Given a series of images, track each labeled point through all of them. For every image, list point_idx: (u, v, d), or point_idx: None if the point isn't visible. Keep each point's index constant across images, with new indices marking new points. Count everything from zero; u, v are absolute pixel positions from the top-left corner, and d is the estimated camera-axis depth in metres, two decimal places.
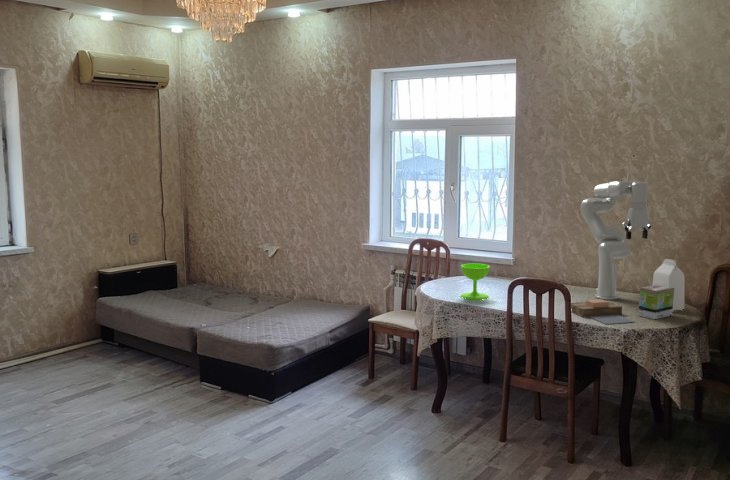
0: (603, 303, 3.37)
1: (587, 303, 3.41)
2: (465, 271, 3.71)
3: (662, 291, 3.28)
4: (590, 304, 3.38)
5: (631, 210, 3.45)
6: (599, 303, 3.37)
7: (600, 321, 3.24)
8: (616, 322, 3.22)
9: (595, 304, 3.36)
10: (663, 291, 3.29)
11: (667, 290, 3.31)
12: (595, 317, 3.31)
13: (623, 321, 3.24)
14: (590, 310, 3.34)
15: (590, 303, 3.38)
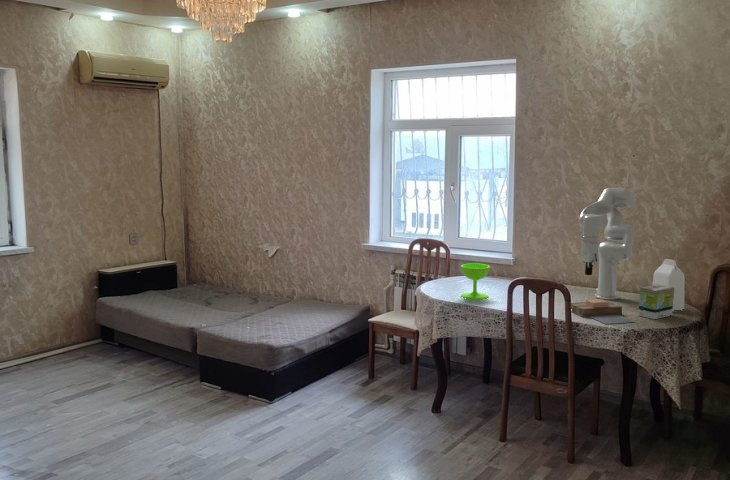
0: (603, 303, 3.37)
1: (587, 303, 3.41)
2: (465, 271, 3.71)
3: (662, 291, 3.28)
4: (590, 304, 3.38)
5: (596, 245, 3.40)
6: (599, 303, 3.37)
7: (600, 321, 3.24)
8: (616, 322, 3.22)
9: (595, 304, 3.36)
10: (663, 291, 3.29)
11: (667, 290, 3.31)
12: (595, 317, 3.31)
13: (623, 321, 3.24)
14: (590, 310, 3.34)
15: (590, 303, 3.38)
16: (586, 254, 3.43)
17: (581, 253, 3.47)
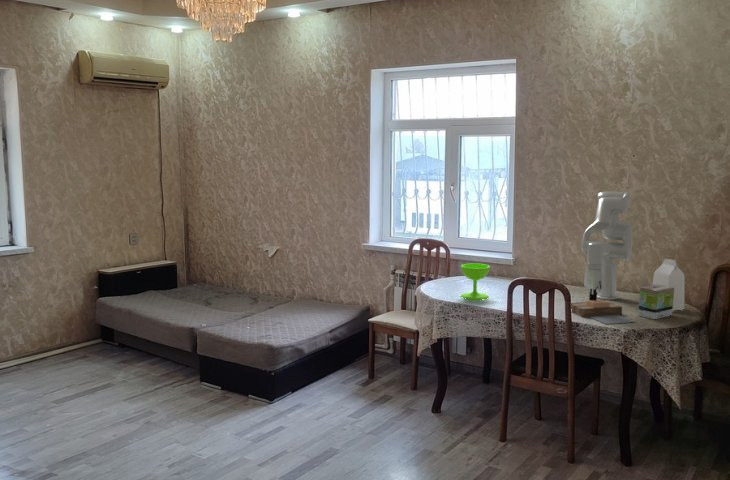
0: (604, 303, 3.37)
1: (588, 303, 3.40)
2: (465, 271, 3.71)
3: (662, 291, 3.28)
4: (591, 304, 3.37)
5: (600, 272, 3.37)
6: (600, 303, 3.36)
7: (600, 321, 3.24)
8: (616, 322, 3.22)
9: (596, 304, 3.36)
10: (663, 291, 3.29)
11: (667, 290, 3.31)
12: (595, 317, 3.31)
13: (623, 321, 3.24)
14: (590, 310, 3.34)
15: (591, 303, 3.37)
16: (590, 281, 3.40)
17: (585, 280, 3.45)
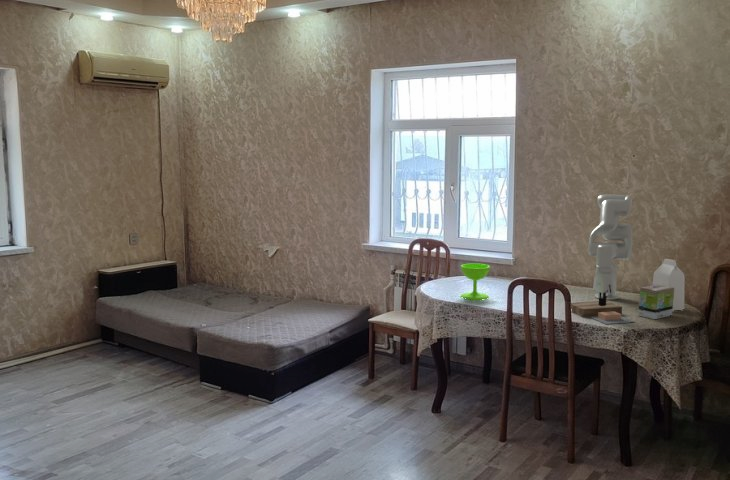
0: None
1: (603, 316, 3.27)
2: (465, 271, 3.71)
3: (662, 291, 3.28)
4: (600, 315, 3.29)
5: (610, 275, 3.29)
6: None
7: (600, 321, 3.24)
8: (616, 322, 3.22)
9: None
10: (663, 291, 3.29)
11: (667, 290, 3.31)
12: (595, 317, 3.31)
13: (623, 321, 3.24)
14: (590, 310, 3.34)
15: (600, 316, 3.29)
16: (600, 285, 3.32)
17: (594, 283, 3.37)
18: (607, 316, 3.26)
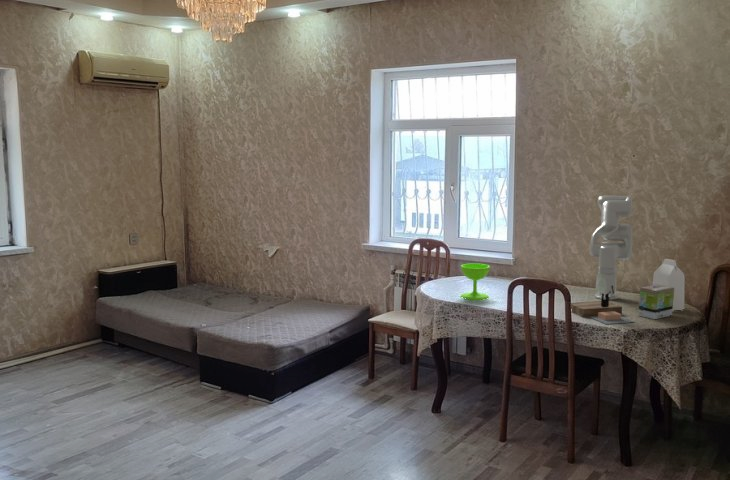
0: None
1: (603, 316, 3.27)
2: (465, 271, 3.71)
3: (662, 291, 3.28)
4: (600, 315, 3.29)
5: (612, 276, 3.27)
6: None
7: (600, 321, 3.24)
8: (616, 322, 3.22)
9: None
10: (663, 291, 3.29)
11: (667, 290, 3.31)
12: (595, 317, 3.31)
13: (623, 321, 3.24)
14: (590, 310, 3.34)
15: (600, 316, 3.29)
16: (602, 286, 3.30)
17: (597, 284, 3.35)
18: (607, 316, 3.26)
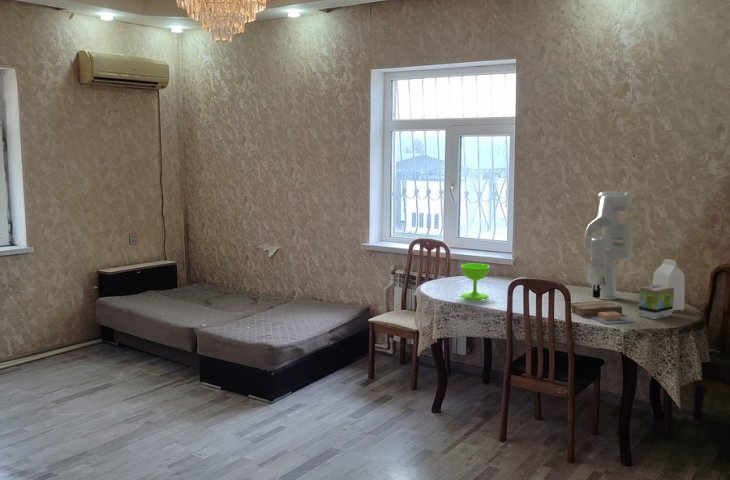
0: None
1: (603, 316, 3.27)
2: (465, 271, 3.71)
3: (662, 291, 3.28)
4: (600, 315, 3.29)
5: (603, 268, 3.35)
6: None
7: (600, 321, 3.24)
8: (616, 322, 3.22)
9: None
10: (663, 291, 3.29)
11: (667, 290, 3.31)
12: (595, 317, 3.31)
13: (623, 321, 3.24)
14: (590, 310, 3.34)
15: (600, 316, 3.29)
16: (594, 277, 3.38)
17: (589, 275, 3.42)
18: (607, 316, 3.26)
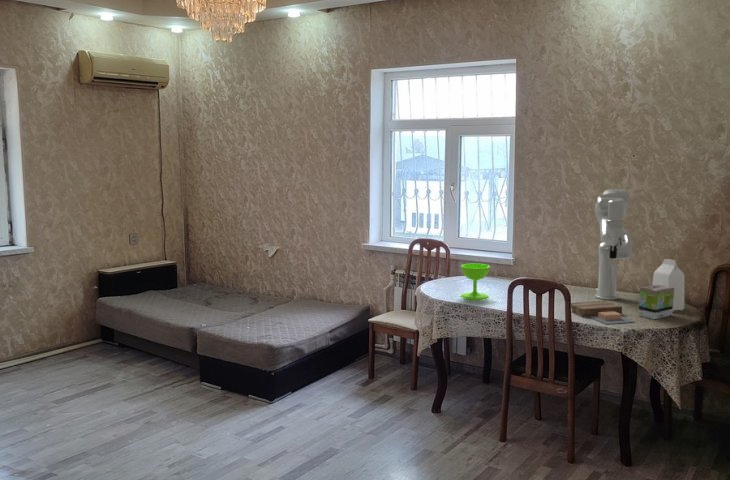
0: None
1: (603, 316, 3.27)
2: (465, 271, 3.71)
3: (662, 291, 3.28)
4: (600, 315, 3.29)
5: (620, 228, 3.44)
6: None
7: (600, 321, 3.24)
8: (616, 322, 3.22)
9: None
10: (663, 291, 3.29)
11: (667, 290, 3.31)
12: (595, 317, 3.31)
13: (623, 321, 3.24)
14: (590, 310, 3.34)
15: (600, 316, 3.29)
16: (611, 238, 3.47)
17: (605, 237, 3.52)
18: (607, 316, 3.26)
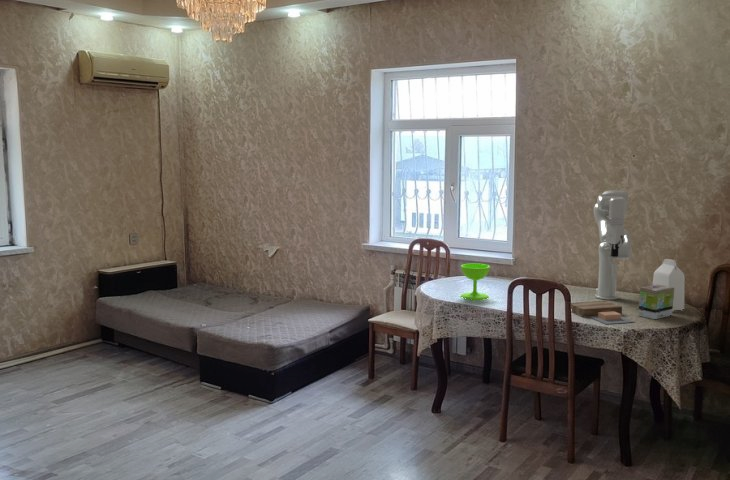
0: None
1: (603, 316, 3.27)
2: (465, 271, 3.71)
3: (662, 291, 3.28)
4: (600, 315, 3.29)
5: (622, 226, 3.45)
6: None
7: (600, 321, 3.24)
8: (616, 322, 3.22)
9: None
10: (663, 291, 3.29)
11: (667, 290, 3.31)
12: (595, 317, 3.31)
13: (623, 321, 3.24)
14: (590, 310, 3.34)
15: (600, 316, 3.29)
16: (612, 236, 3.47)
17: (607, 235, 3.52)
18: (607, 316, 3.26)
